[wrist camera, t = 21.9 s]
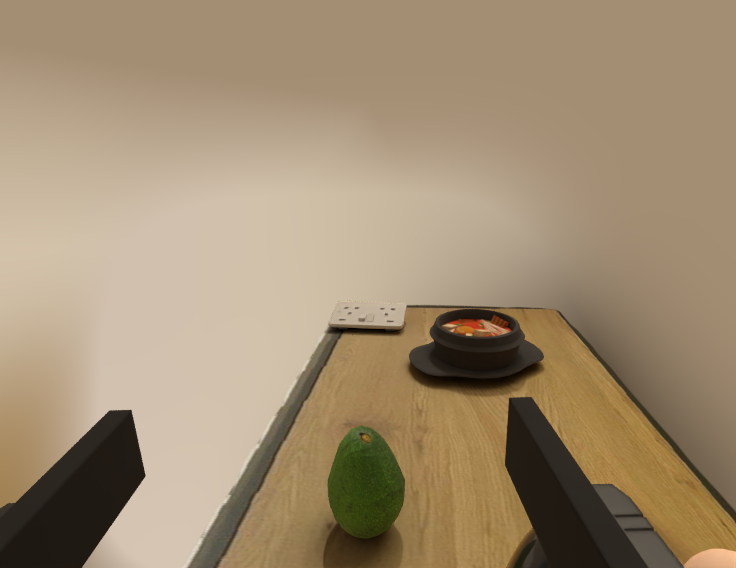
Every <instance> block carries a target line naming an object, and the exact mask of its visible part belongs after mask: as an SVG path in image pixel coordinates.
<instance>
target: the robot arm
mask: <svg viewBox="0 0 736 568" xmlns="http://www.w3.org/2000/svg"><path fill="white" fill-rule="evenodd" d="M505 466H506V468H507V471H508V473H509V475H510V477H511V480H512V482H513V484H514V486H515V488H516V491H517V493H518V495H519V497H520V500H521V502H522V504H523V506H524V508H525V511H526V513H527V515H528V517H529V520H530V522H531V524H532V526H533V529H534V531H535V533H536V535H537V537H538V540H539V542H540V544H541V546H542V549H543V551H544V553H545V555H546V557H547V560H548V562H549V564H550V566H551V568H684V567H683V565H682V564H681V563H680V561H679V560H678V559H677V557H676V556H675V555H674V554H673V552H672V551H671V550H670V548H669V547H668V546H667V545H666V543H665V542H664V541H663V539H662V538H661V537H660V536H659V534H658V533H657V532H656V531H654V528H653V526H652V525H651V524H650V523H649V521H648V520H647V519H646V517H643V514H642V512H641V511H640V510H639V508H638V507H637V506H636V505H635V503H634V502H633V501H632V499H631V498H630V497H629V496H627V495H626V494H625V493H623V492H622V491H621V490H619V489H618V488H617V487H615V486H614V485H613V484H591V483H590V482H589V480H588V479H587V477H586V476H585V474H584V473H583V471H582V470H581V468H580V467H579V466H578V464H577V463H576V461H575V460H574V458H573V457H572V455H571V454H570V452H569V451H568V450H567V448H566V447H565V445H564V444H563V442H562V441H561V439H560V438H559V436H558V435H557V434H556V432H555V431H554V429H553V428H552V426H551V425H550V423H549V422H548V420H547V419H546V418H545V416H544V415H543V413H542V412H541V410H540V409H539V407H538V406H537V404H536V403H535V402H534V400H533V399H532V397H519V398H509V410H508V425H507V441H506V457H505ZM144 478H145V471H144V467H143V462H142V457H141V452H140V448H139V443H138V439H137V434H136V429H135V424H134V420H133V415H132V411H131V410H118V411H117V410H115V411H109V412H108V413H107V414H106V415H105V416H104V417H102V418H101V420H99V421H98V422H97V423H96V424H95V425H94V427H92V428H91V429H90V430H89V431H88V432H87V433H86V434H85V435H84V436H83V437H82V438H81V439H80V440H79V441H78V442H77V443H76V444H75V445H74V446H73V447H72V448H71V449H70V450H69V451H68V452H67V453H66V454H65V455H64V456H63V457H62V458H61V459H60V460H59V461H58V462H57V463H56V464H55V465H54V466H53V467H51V468H50V469H49V471H47V473H45V474H44V476H42V477H41V478H40V479H39V480H38V481H37V482H36V483H35V484H34V485H33V486H32V487H31V488H30V489H29V490H28V491H27V492H26V493H25V494H24V495H23V496H22V497H21V498H20V499H19V500H18V501H17V502H16V503H9V504H6V505H5V506H3V507H2V508H0V568H82V567H83V565H84V564H85V562H86V561H87V559H88V558H89V557H90V555H91V553H92V552H93V551H94V549H95V548H96V546H97V545H98V543H99V542H100V541H101V539H102V538H103V536H104V535H105V533H106V532H107V531H108V529H109V528H110V526H111V525H112V523H113V522H114V521H115V519H116V518H117V516H118V515H119V513H120V512H121V510H122V509H123V508H124V506H125V505H126V503H127V502H128V501H129V499H130V498H131V496H132V495H133V493H134V492H135V491H136V489H137V488H138V486H139V485H140V483H141V482H142V480H143V479H144Z"/></svg>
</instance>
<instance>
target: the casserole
mask: <svg viewBox="0 0 736 568" xmlns="http://www.w3.org/2000/svg"><path fill="white" fill-rule="evenodd" d="M430 335H431V337H432V338H433V340H434V342H432V343H429V344H426V345H422V346H419V347H416V348H414V349H413V350H412V351H411V352H410V354H409V359H410V361H411V363H412V364H413V365H414V366H415V367H416V368H417V369H419V370H420V371H422V372H424V373H427V374H429V375H433V376H443V377H447V376H458V377H468V378H478V379H490V378H500V377H504V376H509V375H512V374H515V373H517V372H519V371H521V370H522V369H524V368H525V367H527V366H528V365H531V364H534V363H536V362H539V361H541V360H542V359H543V358H544V356H543V353H542V352H541V350H540V349H539V348H537V347H536V346H535V345H534V344H532V343H530V342H528V341H526V340H524V339H525V335H524V333H523V331H522V330H521V329H520V325H519V323H518V322H517V320H515V319H514V318H512V317H510V316H509V315H506V314H503V313H499V312H495V311H490V310H482V309H462V310H454V311H450V312H446V313H444V314H442V315H440V316H438V317H437V318H436V321H435V323H434V325H433V326H432V327H431V329H430Z"/></svg>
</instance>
